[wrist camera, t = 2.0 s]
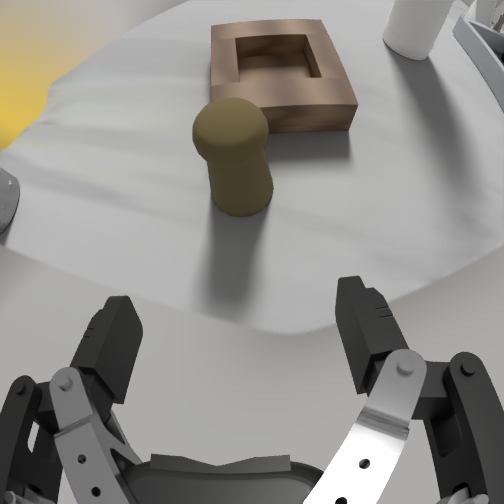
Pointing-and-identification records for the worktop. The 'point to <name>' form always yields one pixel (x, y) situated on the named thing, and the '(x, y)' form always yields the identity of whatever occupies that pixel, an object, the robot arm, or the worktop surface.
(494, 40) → the tray rim
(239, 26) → the socket block
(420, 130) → the worktop surface
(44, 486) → the robot arm
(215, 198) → the cork
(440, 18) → the bottle
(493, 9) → the skyscraper
